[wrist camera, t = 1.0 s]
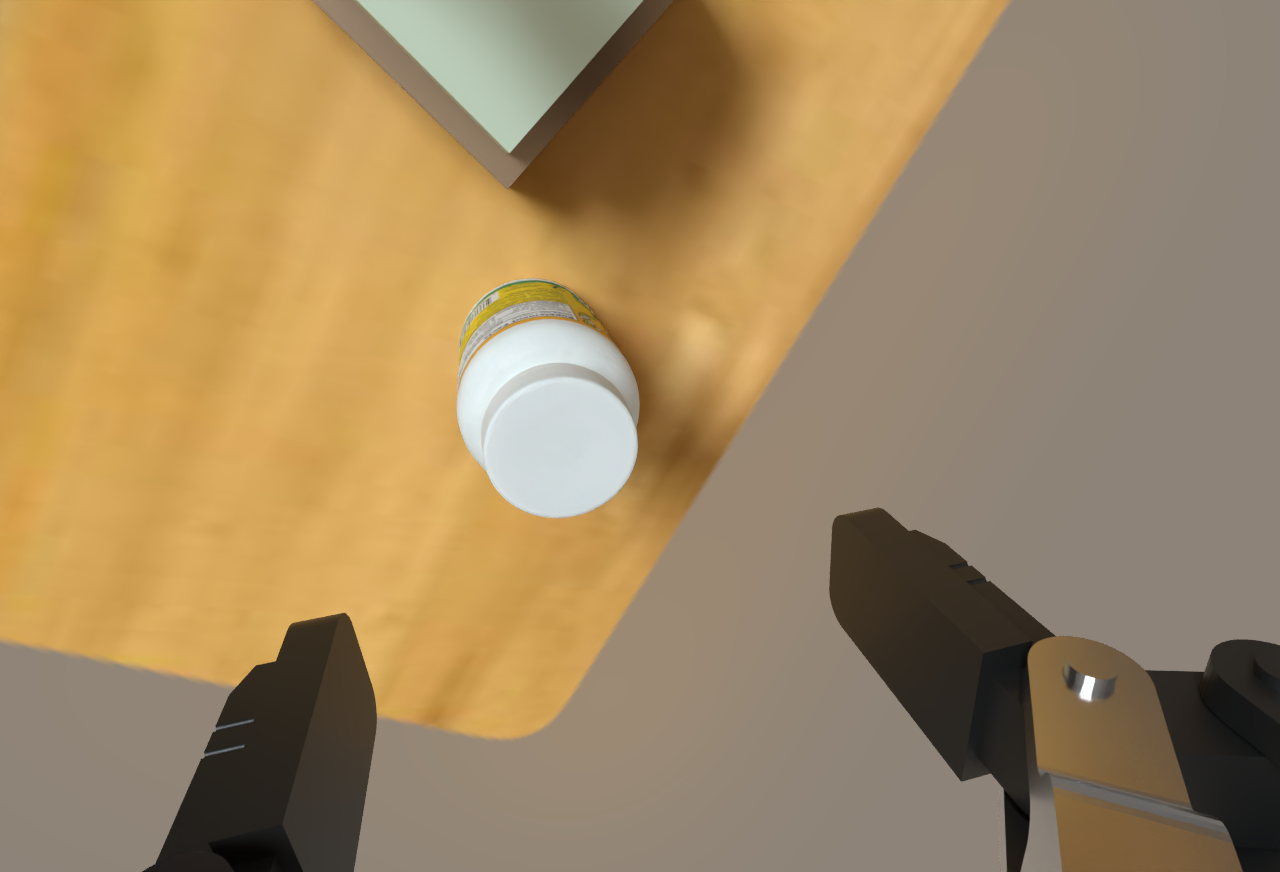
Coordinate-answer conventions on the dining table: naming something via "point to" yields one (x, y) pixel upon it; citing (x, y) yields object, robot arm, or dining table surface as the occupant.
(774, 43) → the dining table surface
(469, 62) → the stepped square pedestal
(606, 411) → the supplement bottle
